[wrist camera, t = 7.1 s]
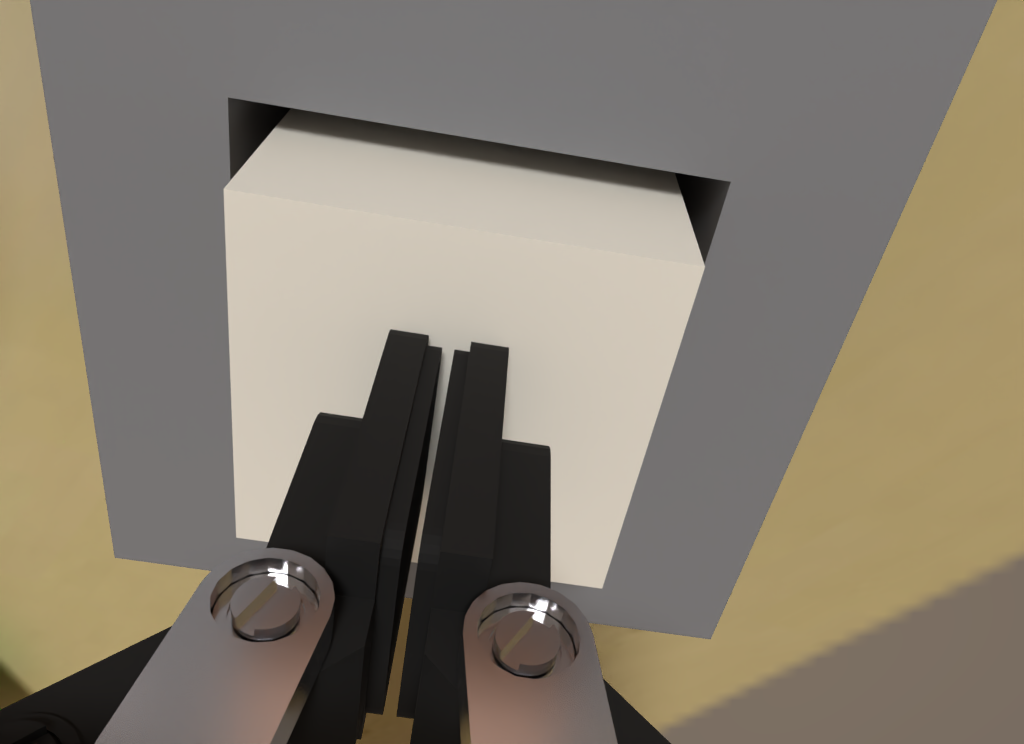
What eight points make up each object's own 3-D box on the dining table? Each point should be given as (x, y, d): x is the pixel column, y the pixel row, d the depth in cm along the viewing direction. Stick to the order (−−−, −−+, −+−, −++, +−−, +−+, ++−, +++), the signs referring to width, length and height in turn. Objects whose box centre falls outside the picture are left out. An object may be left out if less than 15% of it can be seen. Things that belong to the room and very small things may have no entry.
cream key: (656, 117, 16) (705, 267, 11) (589, 380, 19) (602, 588, 14) (330, 61, 15) (223, 189, 10) (320, 340, 19) (235, 537, 14)
